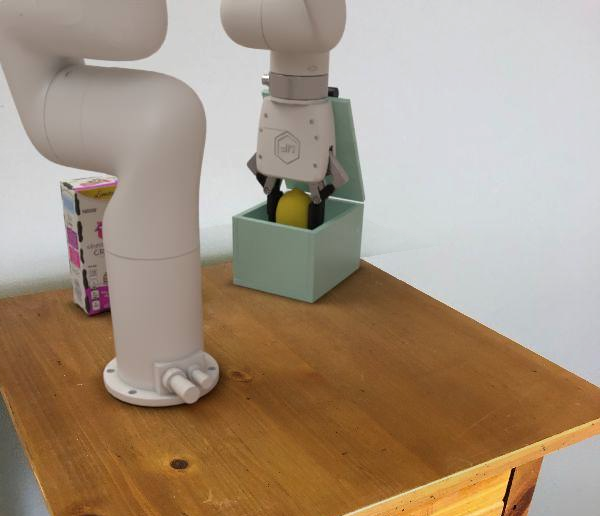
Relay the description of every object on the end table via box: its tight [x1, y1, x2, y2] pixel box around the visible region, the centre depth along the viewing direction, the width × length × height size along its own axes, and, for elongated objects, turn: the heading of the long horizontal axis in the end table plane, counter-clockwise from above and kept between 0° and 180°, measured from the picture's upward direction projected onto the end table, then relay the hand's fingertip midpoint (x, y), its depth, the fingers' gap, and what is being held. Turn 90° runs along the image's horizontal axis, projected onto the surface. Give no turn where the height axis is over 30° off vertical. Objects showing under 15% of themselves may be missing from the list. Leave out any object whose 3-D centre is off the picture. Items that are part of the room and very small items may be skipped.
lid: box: [261, 86, 366, 203], centre depth 106 cm, size 17×13×5 cm
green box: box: [231, 189, 365, 304], centre depth 108 cm, size 16×13×10 cm
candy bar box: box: [59, 174, 118, 316], centre depth 97 cm, size 11×5×16 cm, turn 128°
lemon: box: [276, 188, 312, 229], centre depth 105 cm, size 6×6×8 cm
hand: (295, 223), depth 105 cm, fingers closed on lemon, 5 cm apart
